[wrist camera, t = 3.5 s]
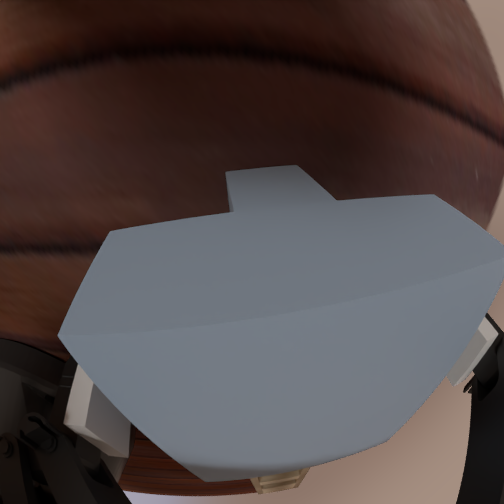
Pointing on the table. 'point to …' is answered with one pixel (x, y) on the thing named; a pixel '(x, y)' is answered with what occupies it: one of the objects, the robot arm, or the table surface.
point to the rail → (279, 481)
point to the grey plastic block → (281, 321)
